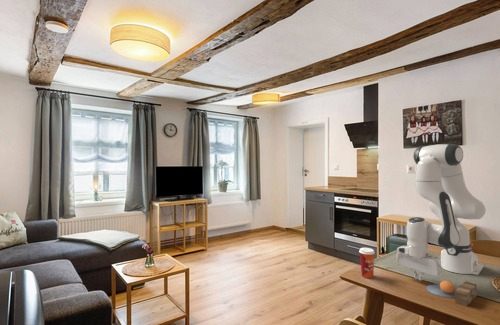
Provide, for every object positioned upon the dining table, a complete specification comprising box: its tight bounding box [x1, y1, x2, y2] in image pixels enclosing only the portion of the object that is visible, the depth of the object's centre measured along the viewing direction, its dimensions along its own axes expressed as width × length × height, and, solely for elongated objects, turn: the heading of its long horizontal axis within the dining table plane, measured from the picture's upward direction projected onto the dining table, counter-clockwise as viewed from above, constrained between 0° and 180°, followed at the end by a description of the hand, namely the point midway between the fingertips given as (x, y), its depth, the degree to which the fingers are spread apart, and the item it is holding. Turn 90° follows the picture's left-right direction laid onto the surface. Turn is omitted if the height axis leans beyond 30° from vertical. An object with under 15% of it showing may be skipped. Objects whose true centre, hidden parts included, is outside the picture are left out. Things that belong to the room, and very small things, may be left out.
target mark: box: [425, 283, 457, 299], centre depth 130 cm, size 13×13×1 cm
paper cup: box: [358, 247, 376, 279], centre depth 148 cm, size 8×8×14 cm
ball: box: [439, 279, 456, 294], centre depth 128 cm, size 6×6×6 cm
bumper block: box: [454, 281, 478, 307], centre depth 122 cm, size 14×4×5 cm, turn 128°
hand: (418, 279), depth 139 cm, fingers closed
